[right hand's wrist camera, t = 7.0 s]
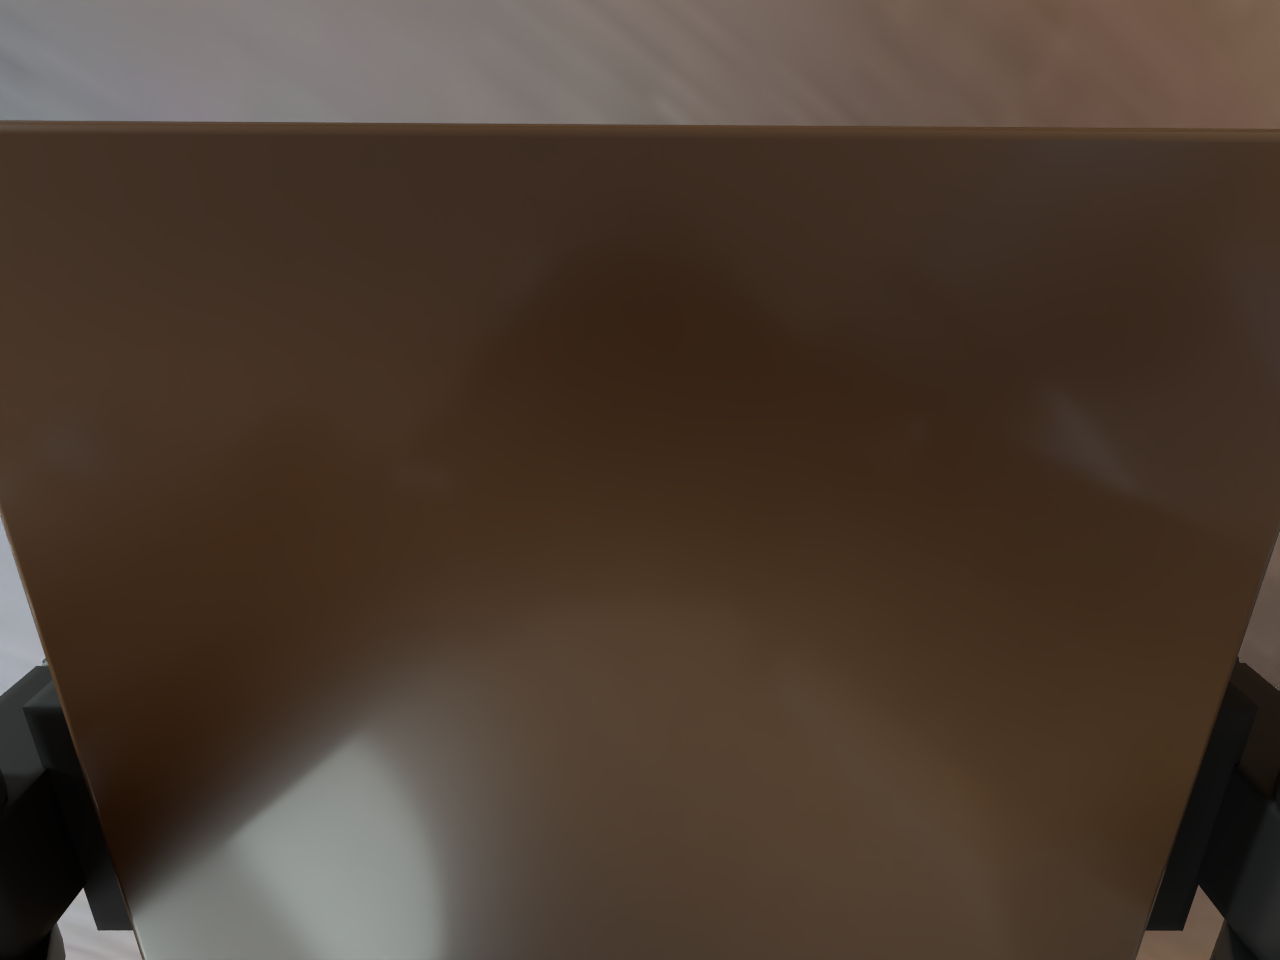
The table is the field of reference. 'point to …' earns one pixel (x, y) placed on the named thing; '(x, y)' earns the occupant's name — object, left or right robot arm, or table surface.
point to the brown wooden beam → (639, 525)
